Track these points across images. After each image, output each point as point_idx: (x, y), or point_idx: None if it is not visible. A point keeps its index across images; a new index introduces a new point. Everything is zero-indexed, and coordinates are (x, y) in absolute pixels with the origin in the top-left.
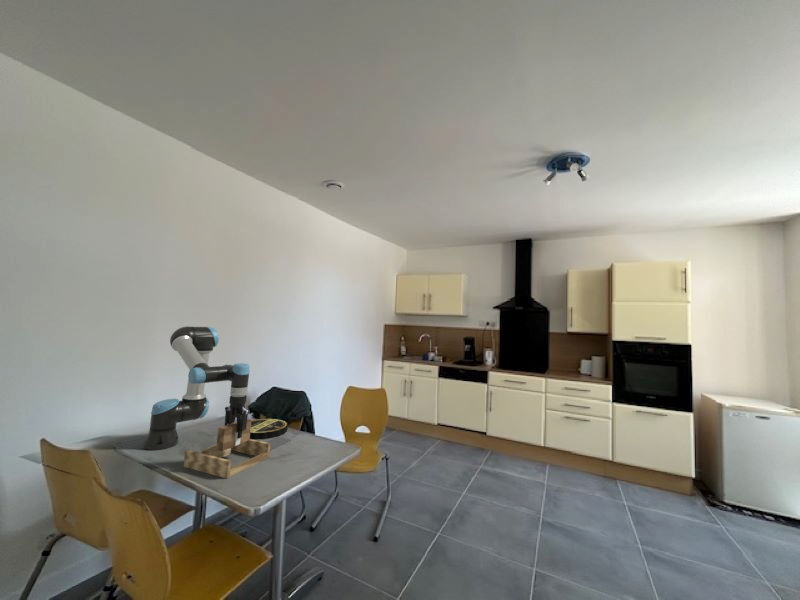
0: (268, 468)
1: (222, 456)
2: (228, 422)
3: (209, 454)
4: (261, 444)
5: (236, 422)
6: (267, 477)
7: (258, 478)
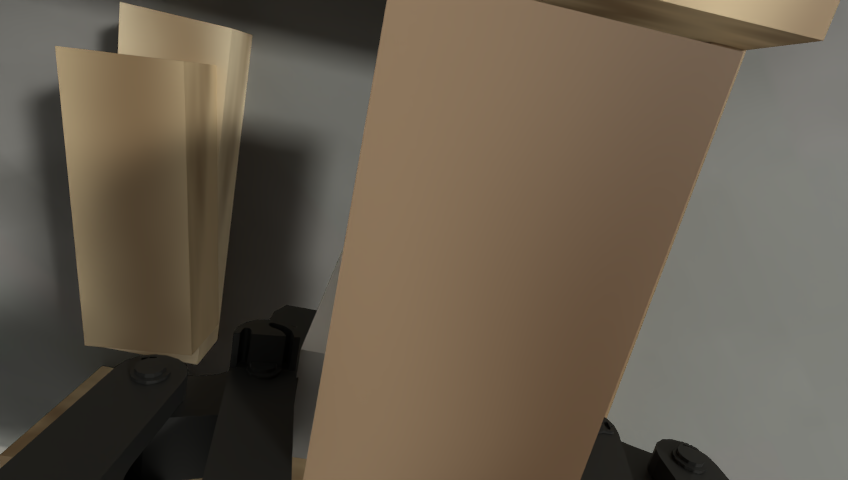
0: (798, 260)
1: (239, 139)
2: (81, 447)
3: (204, 331)
4: (686, 13)
5: (370, 472)
6: (841, 395)
7: (779, 421)
